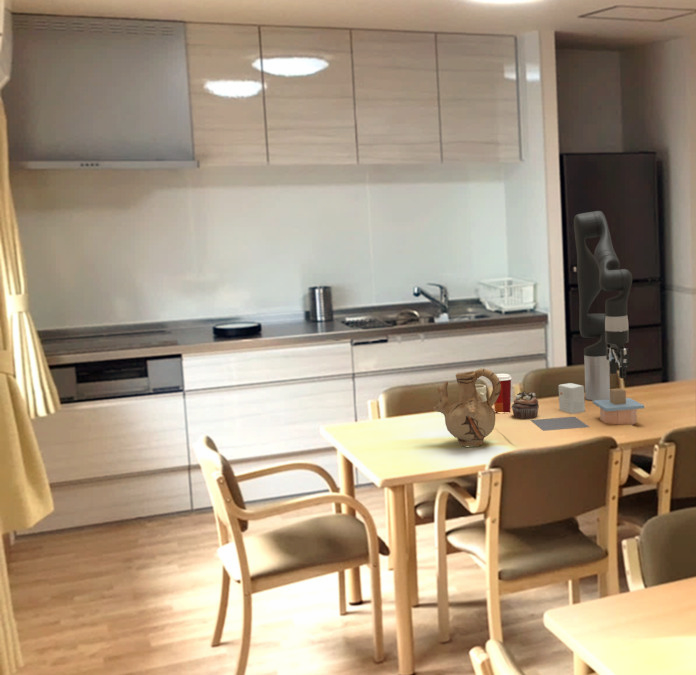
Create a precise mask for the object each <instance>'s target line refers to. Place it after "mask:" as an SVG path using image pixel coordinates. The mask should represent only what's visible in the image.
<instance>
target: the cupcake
mask: <svg viewBox="0 0 696 675" xmlns="http://www.w3.org/2000/svg"><path fill="white" fill-rule="evenodd" d="M539 408H540V407H539V399H537V397H536V393H535V392H533V391H532V392H526V391H522V392H519V393H517V394H516V395H515V398H514V400H513V403H512V405H511V410H512V412H513V413H512V414H513V418H515V419H520V420H533V419H536V418H537V417H538V412H539Z"/></svg>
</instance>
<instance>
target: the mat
mask: <svg viewBox="0 0 696 675" xmlns="http://www.w3.org/2000/svg"><path fill="white" fill-rule="evenodd" d="M529 420H530V421H531V423H533V424H534V425H535V426H537V427H538V428H539V429H540V430H541V431H542V432H543V431H544V432H545V431H559V430H570V429H583V428H584V429H586V428H590V426H589V425H588V424H587V423H585V422H584V421H582V420H581V419H579V418H578V417H577V416H566V417H563V416H562V417H554V418H550V417H549V418H540V419H529Z"/></svg>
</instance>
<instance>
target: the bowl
mask: <svg viewBox="0 0 696 675" xmlns="http://www.w3.org/2000/svg"><path fill="white" fill-rule="evenodd" d="M599 409H600V411H599V413H600V416H599V417H600V418H599V419H600V421H601V422H603V423H604V424H610V425H627V424H629V425H630V426H635V425H636V424H637V422H638V420H637V419H638V415H637V413H638V412H637V410H638V409H630V410H617V411H605V410H603V409H601V408H600V407H599ZM634 424H635V425H634Z"/></svg>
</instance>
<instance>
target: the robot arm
mask: <svg viewBox="0 0 696 675" xmlns="http://www.w3.org/2000/svg"><path fill="white" fill-rule="evenodd" d="M573 229H574V238H575V247H576V256H577V257H576V258H577V259H576V260H577V261H576V262H577V263H576V264H577V265H576V266H577V285H578V286H577V288H578V294H579V295H578V297H579V298H578V299H579V306H578V307H579V308H578V310H579V312H578V313H579V316H578V317H579V321H578V323H579V326H578V327H579V334H580V336H581V337H582V338H585V339H586V338H587V339H590V338H594V339H595V338H599V340H598V341H596V342H595V343H593V344H591V345H588V346H586V347H584V349H583V356H584V357H583V358H584V360H583V362H584V399H585V400H587V401H595V400H608V399H610V389H611V387H610V386H611V384H610V383H611V382H610V378H611V376H610V374H612V375H614V374H615V375H616V374H617V372H618V378H619V379H626V378H627V367H629V366H630V354H629V353H630V351H629V348H628V347H627V348H625V344H628V343H629V341H630V340H629V333H630V332H629V319H628V318H629V317H628V301H629V295H630V292H631V287H632V283H633V276H632V273H631V272H630V271H629V270H628V269H625V268H622V269H621V268H620V267H621V263H620V260H619V258H618V256H617V254H616V251H615V249H614V246H613V242H612V241H613V240H612V236H611V233H610V229H609V224H608V221H607V218H606V215H605V214H604V212H603V211H601V210H595V211H593V210H592V211H588V212H582V213H578V214H576V215H574V218H573ZM597 237H600V238H599V241H598V243H597V245H596V247H595V249H594V254H593V253H592V252H591V250H590V249H589V248H588V246H587V244H586V239H592V238H597ZM602 290H603V291H604V292H615V291H616V292H617V291H618V294H616V296H613V297H610V298H607V299H606V300H605V303H604V305H605V309H604V310H605V311H604V312H605V313H604V312H603V313H589V310H590V308H591V306H592V304H593V302H594V301H595V299H596V298H597V296H598V295H599V294H600V292H601V291H602ZM617 365H618V366H617ZM617 367H618V368H617Z"/></svg>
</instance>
